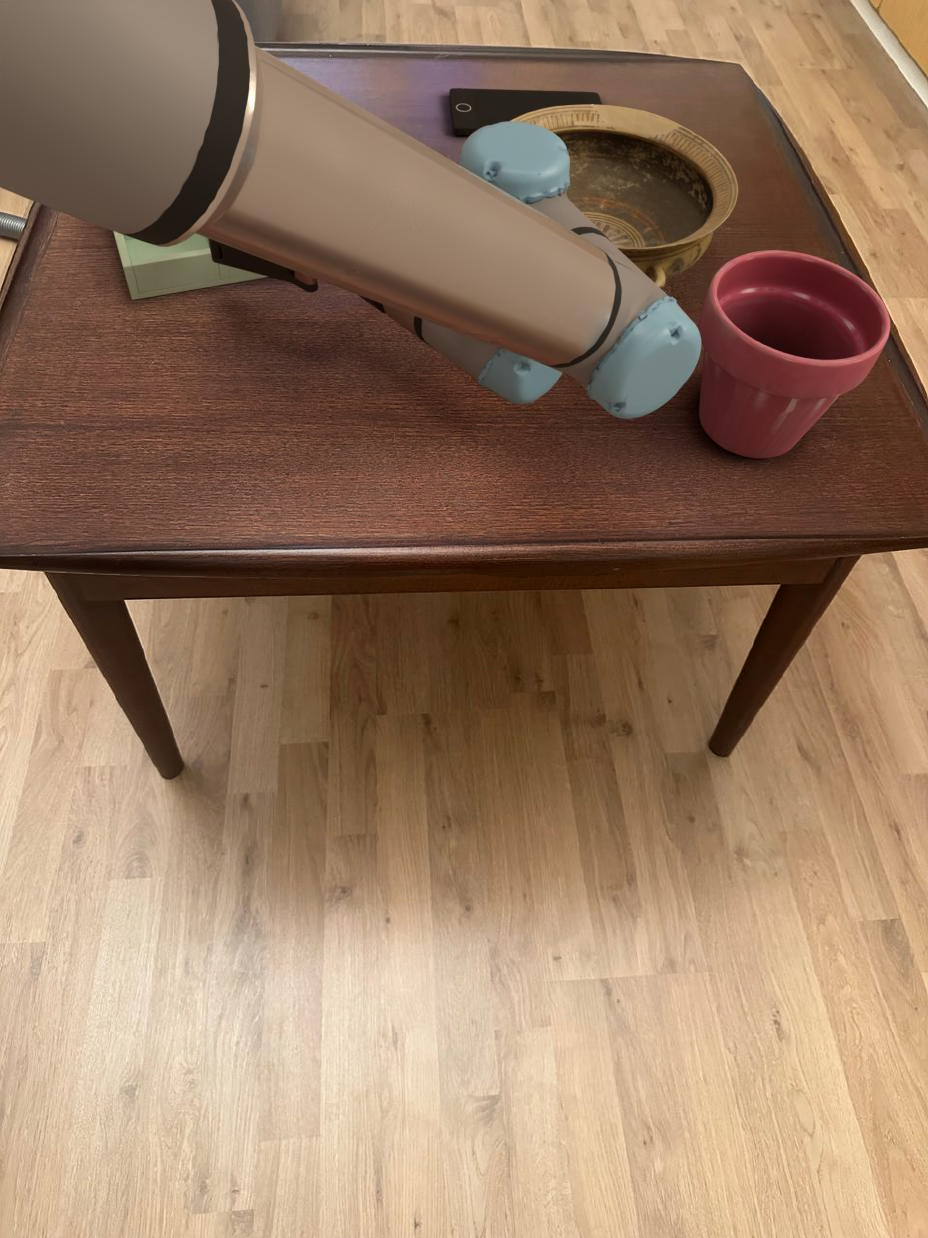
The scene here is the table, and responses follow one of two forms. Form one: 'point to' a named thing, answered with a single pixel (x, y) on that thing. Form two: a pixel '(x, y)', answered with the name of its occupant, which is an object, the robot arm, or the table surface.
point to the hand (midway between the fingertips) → (248, 164)
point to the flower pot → (782, 347)
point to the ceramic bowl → (643, 182)
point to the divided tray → (173, 267)
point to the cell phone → (506, 105)
